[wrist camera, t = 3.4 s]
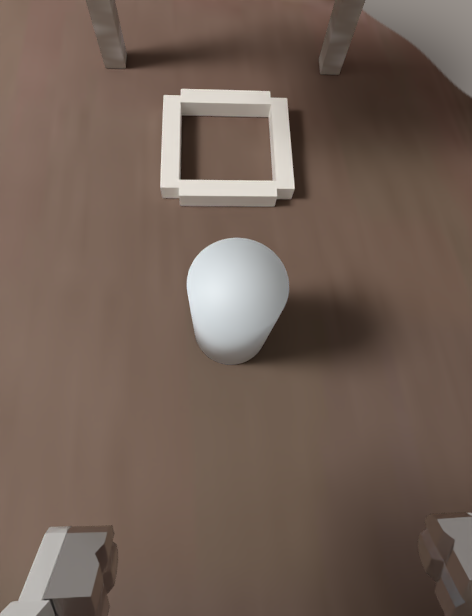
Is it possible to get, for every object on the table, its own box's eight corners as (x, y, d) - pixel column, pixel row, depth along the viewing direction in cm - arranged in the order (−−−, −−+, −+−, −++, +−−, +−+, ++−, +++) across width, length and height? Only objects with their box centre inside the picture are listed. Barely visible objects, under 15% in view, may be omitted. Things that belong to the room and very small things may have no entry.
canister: (194, 365, 23) (186, 334, 16) (194, 295, 25) (187, 237, 17) (268, 364, 24) (292, 333, 16) (264, 295, 25) (285, 237, 18)
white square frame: (162, 205, 26) (159, 195, 25) (165, 102, 29) (163, 88, 28) (291, 206, 27) (295, 196, 26) (283, 104, 30) (286, 91, 29)
